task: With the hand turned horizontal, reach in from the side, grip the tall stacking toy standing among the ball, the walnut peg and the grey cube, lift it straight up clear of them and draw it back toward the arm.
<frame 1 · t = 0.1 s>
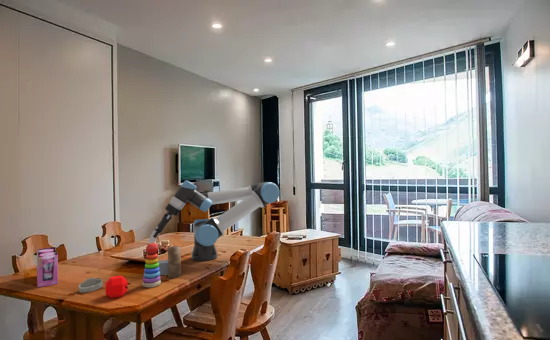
hand: (151, 240, 172), 15 cm above the table, tool tilted 35°, fingers open, 13 cm apart
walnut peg: (174, 276, 158), on the table
grey oval piece: (90, 290, 141), on the table
gum box: (47, 280, 157), on the table
grey cube: (162, 273, 163), on the table
ball: (116, 296, 133), on the table
stacking toy: (151, 285, 146), on the table
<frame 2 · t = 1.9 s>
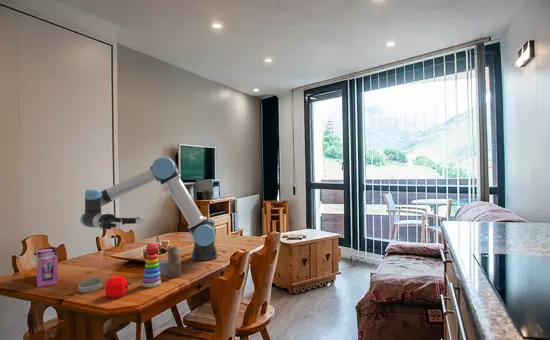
hand: (133, 223, 154), 27 cm above the table, tool horizontal, fingers open, 13 cm apart
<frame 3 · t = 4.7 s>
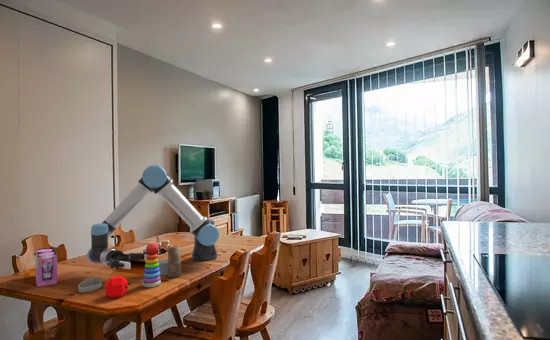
hand: (142, 262, 148), 10 cm above the table, tool horizontal, fingers open, 13 cm apart
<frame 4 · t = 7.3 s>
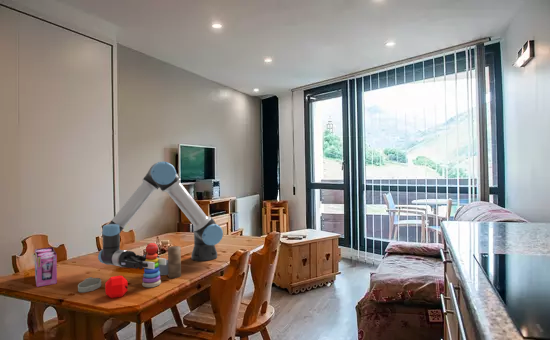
hand: (159, 263, 143), 10 cm above the table, tool horizontal, fingers closed on stacking toy, 6 cm apart
stacking toy: (151, 285, 146), on the table, touching gripper
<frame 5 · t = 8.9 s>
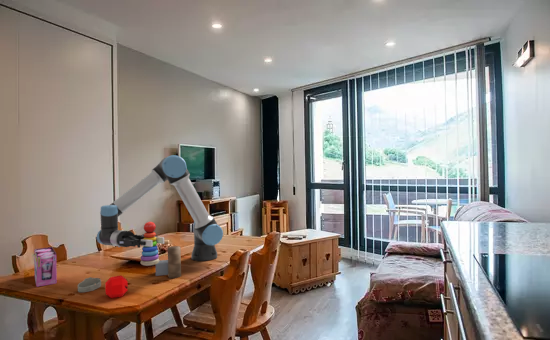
hand: (157, 241, 143), 20 cm above the table, tool horizontal, fingers closed on stacking toy, 6 cm apart
stacking toy: (150, 263, 145), point 10 cm above the table, touching gripper
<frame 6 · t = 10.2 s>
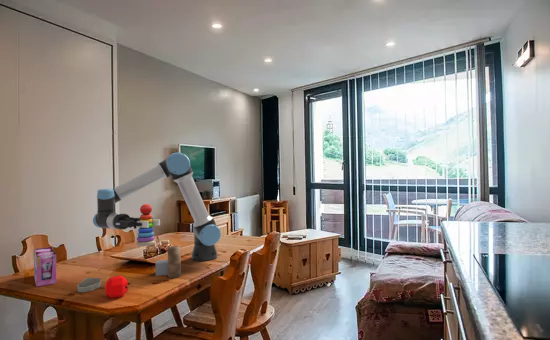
hand: (153, 223, 147), 28 cm above the table, tool horizontal, fingers closed on stacking toy, 6 cm apart
stacking toy: (145, 245, 149), point 17 cm above the table, touching gripper
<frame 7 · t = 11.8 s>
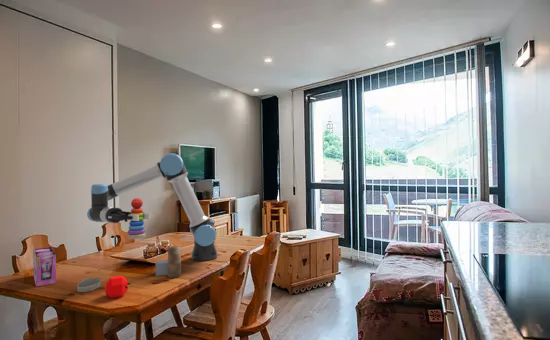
hand: (144, 217, 152), 30 cm above the table, tool horizontal, fingers closed on stacking toy, 6 cm apart
stacking toy: (136, 238, 154), point 20 cm above the table, touching gripper
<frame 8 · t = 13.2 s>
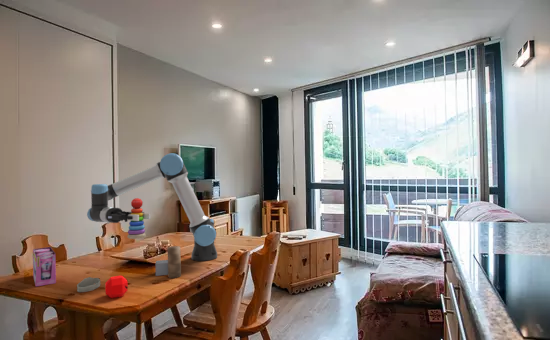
hand: (144, 217, 152), 30 cm above the table, tool horizontal, fingers closed on stacking toy, 6 cm apart
stacking toy: (136, 238, 154), point 20 cm above the table, touching gripper
at the end: the gripper is holding stacking toy; stacking toy point 19.8 cm above the table; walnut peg moved 0.0 cm from its start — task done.
